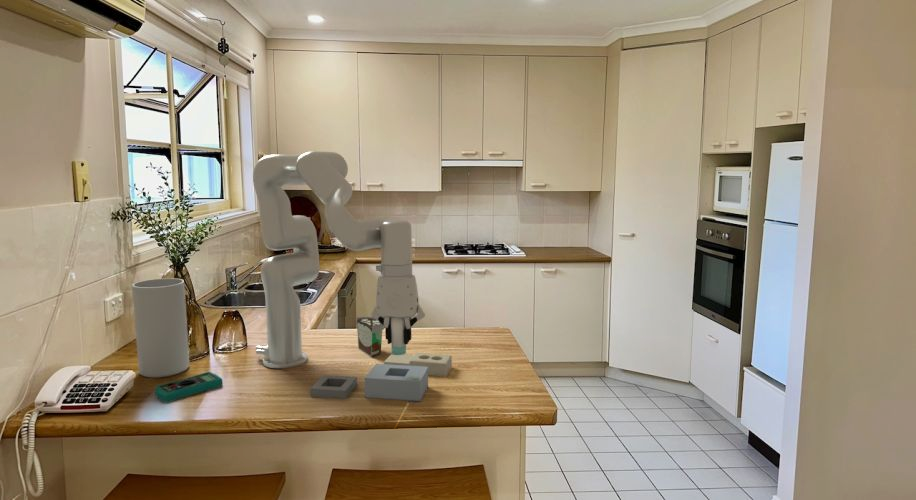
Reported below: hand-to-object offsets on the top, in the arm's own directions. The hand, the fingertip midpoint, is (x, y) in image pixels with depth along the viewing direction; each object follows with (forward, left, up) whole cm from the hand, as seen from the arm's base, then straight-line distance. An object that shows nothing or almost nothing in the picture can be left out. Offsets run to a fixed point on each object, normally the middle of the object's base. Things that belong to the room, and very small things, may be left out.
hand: (398, 341), depth 139 cm
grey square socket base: (-16, -2, -14) cm, 21 cm away
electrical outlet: (+1, +17, -14) cm, 22 cm away
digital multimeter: (-53, -6, -14) cm, 55 cm away
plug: (0, 0, -3) cm, 3 cm away
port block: (0, 0, -14) cm, 14 cm away
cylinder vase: (-68, +5, -14) cm, 70 cm away
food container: (-15, +30, -14) cm, 37 cm away
